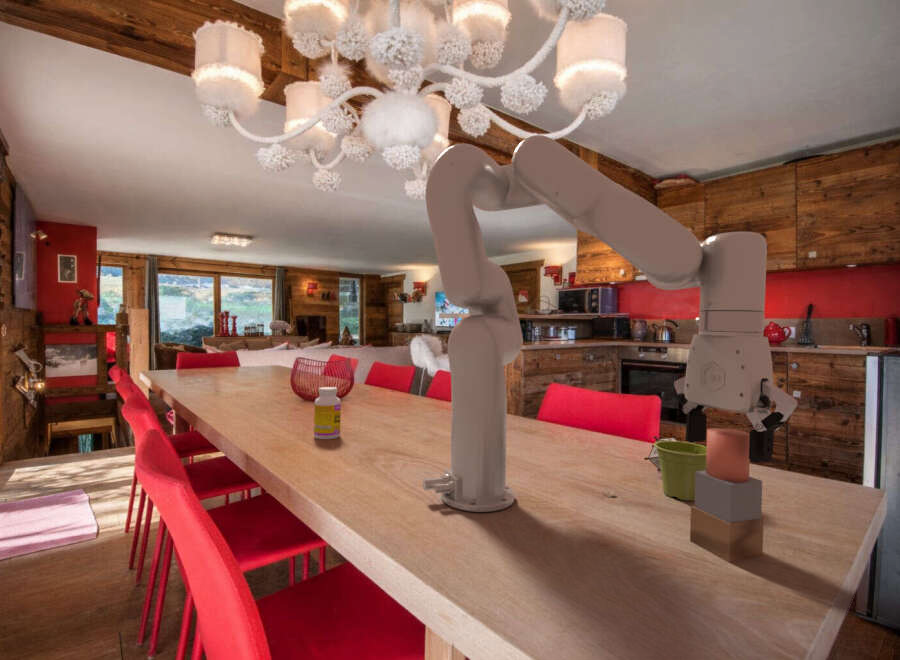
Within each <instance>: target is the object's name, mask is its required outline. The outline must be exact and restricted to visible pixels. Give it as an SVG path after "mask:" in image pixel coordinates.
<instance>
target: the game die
mask: <svg viewBox="0 0 900 660" xmlns="http://www.w3.org/2000/svg"><path fill="white" fill-rule="evenodd" d="M671 436H672V437H668V438H667V437H666V438H665V437H664V438H658V437H657V436H656V435H653V439H654V440H655V442H654V443H653V444H651V448H652V449H650V450H651V451H650V452H649V455H648V457H644V458H643V460H645V461H647V460H649V461H650V463H652V464H653V466H655V467H656V468H657V471H658V472H661V467H660V460H659V456H658V454H657V448H655V446H654V444H655V443H656V442H660V441H678V440H677V439H676V435H675V434H672V435H671ZM679 441H680V442H683V440H679Z"/></svg>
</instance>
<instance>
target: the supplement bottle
mask: <svg viewBox="0 0 900 660" xmlns="http://www.w3.org/2000/svg"><path fill="white" fill-rule="evenodd" d="M318 394H319V396H318V397H317V398H315V400H314V417H313V418H314V419H313V421H314V423H313V425H314V426H313V435H314V438H316V439H318V440H334V439H337V438H339V437H340V436H341V415H342V414H341V408H342V407H341V406H342V405H341V404H342V403H341V402H342V401H341V399H340V398H339V397H338V396H337V395H338V388H337V387H336V386H324V387H323V386H322V387H318Z"/></svg>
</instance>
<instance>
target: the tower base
mask: <svg viewBox="0 0 900 660" xmlns="http://www.w3.org/2000/svg"><path fill="white" fill-rule="evenodd" d="M694 506H695V505H692V506H690V528H689V529H690V530H689V532H690V534H689V541H690V542H691V543H693V544H695V545H696V546H698V547H700V548H702V549H703V550H705V551H707V552H709V553H711V554H712V555H714V556H717V557H718V558H719V559H722V560H723V561H726V562H727V563H733V562H738V561H743V560H748V559H752V558H757V557H761V556H763V555H764V551H763V548H764V518H763V517H761V519H755V520H749V521H742V522H736V523H728V522H726V521H723V520H721V519H719V518H717V517H715V516H713V515H711V514H709V513H706V512H704V511H702V510H700V509H698V508H696V507H694Z"/></svg>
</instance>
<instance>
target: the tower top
mask: <svg viewBox="0 0 900 660" xmlns="http://www.w3.org/2000/svg"><path fill="white" fill-rule="evenodd" d="M762 497H763V480H760V479H758V478H755V477H752V476H749V481H746V482H731V481H724V480H720V479H716V478H713V477H711V476H709V475H707V474H706V470H703V471H695V501H694V505H693V506H694V507H696V508H698V509H700V510H702V511H704V512H706V513H709V514H711V515H713V516H715V517H717V518H719V519H721V520H723V521H726V522H728V523H736V522H742V521H749V520H755V519H761V518H762V508H763V507H762V503H763V501H762V499H763V498H762Z"/></svg>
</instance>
